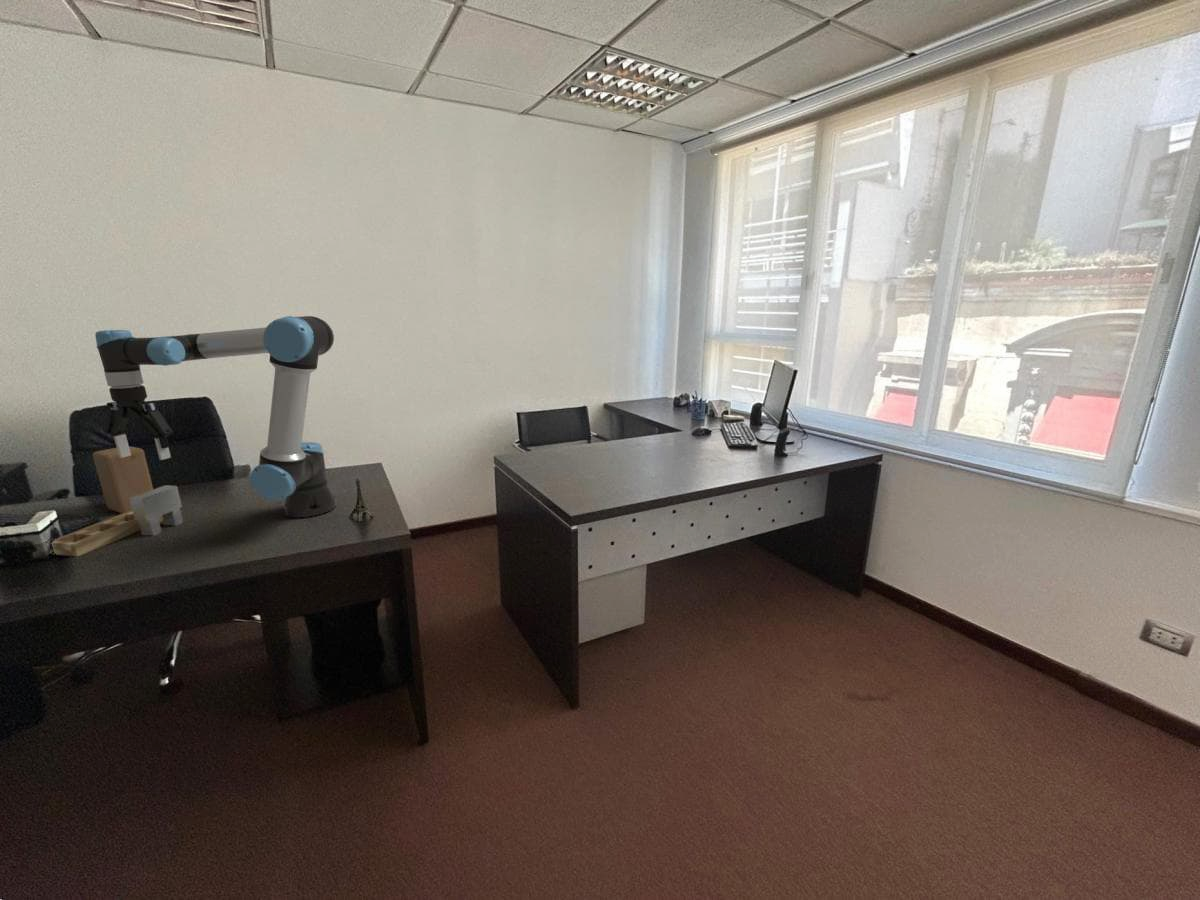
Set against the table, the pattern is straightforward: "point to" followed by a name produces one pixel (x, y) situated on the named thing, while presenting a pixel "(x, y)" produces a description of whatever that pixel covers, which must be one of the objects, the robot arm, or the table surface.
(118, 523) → the rail
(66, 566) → the table surface
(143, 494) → the grey concrete brick
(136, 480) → the wooden block
